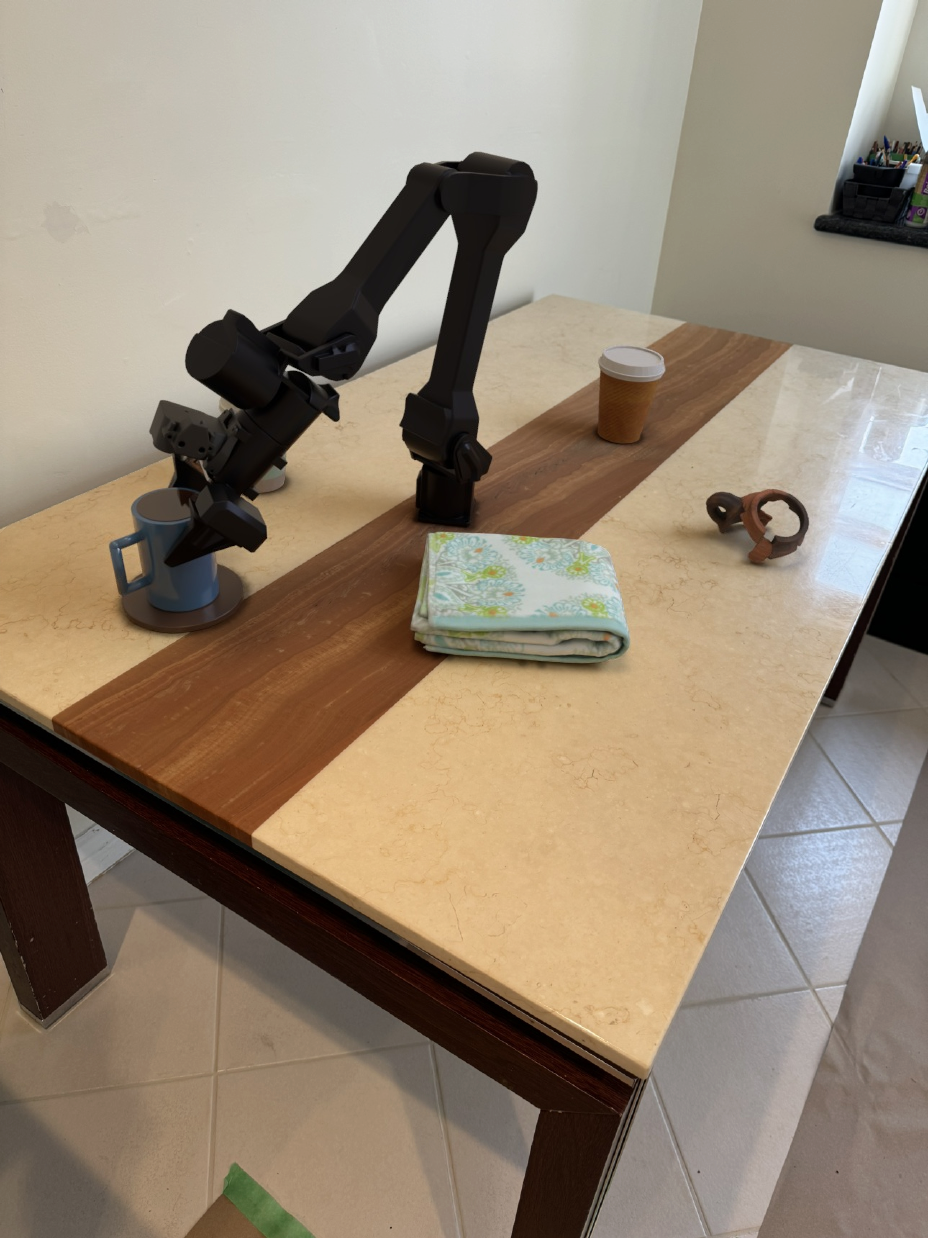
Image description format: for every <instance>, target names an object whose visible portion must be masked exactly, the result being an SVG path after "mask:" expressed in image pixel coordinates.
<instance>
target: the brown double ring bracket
mask: <svg viewBox="0 0 928 1238" xmlns="http://www.w3.org/2000/svg"><path fill="white" fill-rule="evenodd" d="M778 501H783V502H784V503H785V504H787V506H788V510H789V511H791V512H792V513H794V514H795V515H796V516H797V517H798V521H799V528H798V530H797V532H796V533H795V534H792V535H790V536H782V535H777V534H775V535H774V536H773V537H772V540H770V539H768V538H766V537H765V535H766V533H767V532H768V531H767V528H766V526H767V525H768V524H769V522H771V521H772V520H773V516H772V515H770V514H769V513H766V512H765V511H764V510H763V509H762V508H763V507H764V506H765V505H767V504H768V503H769V502H770V503H774V502H778ZM705 508H706V513H707V515H708V517H709V518H710V519H711V521H713V523H715V524H716V526H717V527H718V531H719V533H720V534H722V535H724V534H725V533H726V531H727V530H728V529H729V528H730V527H731V526H733V525H735V524H739V523H742V524H743V527H744V528H745V529H746V531H747V534H748V535H749V537H750V538H751V540H752V541H753V542H754V543H755V544H756V545H755V546H754V548H753V549H752V550H751V551H750V552H748V553H747V559H748V560H750V561H751V562H753V563H755V564H760V563H763V562H765V561H766V560H767V559H768V560H776V559H779V558H782V557H786V556H788V555H791V554H792V553H795V552H796V551H797V550H798V547H800V546H802V544H803V542H804V540H805V537H806V534H807V533H808V531H809V526H810V517H809V514H808V511H807V509H806V507H805V506H804V504H803V503H802V502H801V500H799V498H797V497H796V496H794V495H793V494H791V493H789V492H787V491H784V490H781V489H776V488H767V489H764V490H763V489H762V490H760V491H755V492H752V493H751V492H750V493H748V494H746V495H744V496H738V495H736V494H734V493H732V492H729V491H728V492H727V491H716V492H714V493H713V494H711V495H709V497H707V499H706V501H705ZM721 508H722V509H723V510H725V511H722V510H721Z"/></svg>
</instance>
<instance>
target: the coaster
mask: <svg viewBox="0 0 928 1238" xmlns="http://www.w3.org/2000/svg"><path fill="white" fill-rule="evenodd" d="M217 569H218V577H219V586H220V590H219V594H218V595H217V597H216V598H215V599H214V600H213V601H212V602H210V603H209V604H207V605H205V606H203V607H201V608H198V609H195V610H190V611H183V612H173V611H166V610H162V609H159V608H157V607H155V606H153V605H152V604H151V603H150V602H149V601H148V599H147V596H146V591H145V587H144V588H142V589H139V590H137V591H135V592H132V593H130V594H128V595H125V596H122V595H121V607H122V609H123V613H124V614H125V616H126V617H127V618H128V619H129V620H130V621H131V622H132V623H134V624H136V625H138V626H139V627H141V628H143V629H146V630H150V631H154V632H160V633H169V634H175V633H177V634H179V633H189V632H195V631H200V630H204V629H207V628H210V627H213V626H215V625H218V624H220V623H222V622H224V621H225V620H227V619H229V618H230V617H231V616H233V615H234V614H235V613H236V612H237V611H238V610H239V608H240V607H241V606H242V604H243V601H244V599H245V598H244V597H245V585H244V583H243V580H242V578H241V577H240V576H239V575H238V573H236V572H235V571H233V570H232V569H230V568H228V567H227V566H224V565H221V564H219V563H217ZM141 577H143V574H142V572H140V573H139V574H138V575H136V576H134V577H133V578H132V579H131V580H130V581H129V582H131V581H134V580H136V579H138V578H141Z"/></svg>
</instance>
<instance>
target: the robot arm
mask: <svg viewBox="0 0 928 1238" xmlns="http://www.w3.org/2000/svg"><path fill="white" fill-rule="evenodd" d="M538 182H539V181H538V180H537V179H536V177H535V174H534V170H533V169H532V167H531V166H530V164H528V163H527V162H525V161H523V160H519V159H513V158H509V157H505V156H500V155H497V154H494V153H493V154H492V153H488V152H483V151H473V152H471V153H469V154H468V155H467V156H466V157H465V158H464V159H462V160H441V161H437V162H435V163H432V162H426V161H424V162H421V163H418V164H415V165H414V166H412V168H410V170H409V171H408V173H407V176H406V178H405V184H404V186H403V187H402V189H400V191H399V192H398V194H397V195H396V197H395V198H394V200H393V201H392V202H391V204H390V205H389V206H388V208H387V209H386V210H385V212H384V213H383V215H382V216H381V217H380V219H379V220H378V222H377V223H376V224H375V226H374V227H373V229H372V230H371V231H370V232H369V234H368V235H367V237H366V238H365V239H364V241H363V242H362V243H361V245H360V246H359V248H358V249H357V250H356V251H355V252H354V254H353V255H352V257H351V259H349V261H348V263H347V264H346V265H345V266H344V268H343V269H342V271H341V272H340V273H338V275H336V277H335V278H334V279H332V280H331V281H329V282H327V283H324V284H323V285H321V286H319V287H317V288H315V289H313V290H311V291H310V292H309V293H308V294H307V295H306V296H305V297H304V298H303V299H302V300H300V302H299V303H298V304H296V306H295V307H294V308H293V309H292V310H291V311H290V312H289V313H288V314H287V316H286V318H285V319H282V320H280V321H278V322H276V323H273V324H272V325H269V326H267V327H265V328H262V329H259V328H257V327H256V325H255V323H254V322H253V321H252V320H250V319H249V318H248V317H247V316H246V315H245V314H243V313H241V312H239V311H237V310H235V309H232V308H229V309H227V311H226V312H225V314H224V315H223V317H222V318H221V319H217V320H214V321H212V322H210V323H208V324H207V325H205V326H204V327H203V328H202V329H201V330H200V331H199V332H196V333H195V334H194V335H193V336H192V338H191V340H190V342H189V343H188V346H187V348H186V352H185V356H184V365H185V367H184V368H185V370H186V373H187V374H188V375H189V377H191V378H192V379H193V380H195V381H197V382H198V383H200V384H201V385H203V386H204V387H205V388H207V389H209V390H210V391H211V392H213V393H215V394H216V395H218V396H219V397H220V398H221V397H222V398H223V399H225V400H226V401H228V402H229V403H231V404H232V405H234V406H235V407H237V408H239V409H240V410H239V411H238V412H237V411H235V410H234V409H233V408H230V409H229V410H228V409H226V410H224V411H223V413H220V414H219V416H217V417H215V416H213V415H210V414H208V413H206V412H204V411H201V410H198V409H195V408H192V407H189V406H186V405H182V404H180V403H176V402H173V401H170V400H166V399H160V400H159V402H158V403H157V404H158V405H157V407H156V410H155V413H154V416H153V419H152V422H151V424H150V427H149V431H148V433H149V435H151V437H152V445H153V447H154V448H155V449H156V450H157V451H160V452H162V453H165V454H168V455H171V458H172V463H173V469H174V471H173V474H172V477H171V479H170V480H169V481H170V482H169V484H168V486H167V488H188V489H193V490H196V491H199V492H200V494H199V496H198V498H197V501H196V502H195V501H194V500H192V499H191V498H189V506H190V514H191V519H190V521H189V522H188V523H187V525H186V526H185V528H184V529H183V531H182V532H181V534H180V535H179V536H178V538H177V539H176V541H175V542H174V544H173V545H172V547H171V548H170V550H169V551H168V553H167V554H166V556H165V558H164V559H163V562H164V564H165V565H167V566H169V567H171V568H174V567H176V566H179V565H182V564H184V563H187V562H189V561H192V560H195V559H197V558H200V557H202V556H205V555H208V554H211V553H213V552H220V551H223V550H226V549H229V548H232V547H238V548H241V549H242V548H243V549H245V550H246V551H248V552H249V553H256V552H257V550H259V548H260V547H261V546H262V545H263V544H264V543H265V542H266V541H267V540H268V529H267V528H268V527H267V523H266V522H265V519H264V518H263V516H262V513H261V511H260V509H259V508H258V507H257V506H255V505H254V504H252V503H251V502H254V501H255V500H256V499H257V498H258V496H260V493H259V492H258V490H257V488H256V485H257V484H258V483H259V482H260V480H261V479H262V478H263V477H264V476H265V475H266V474H267V473H268V472H269V471H270V469H271V468H272V467H273V466H275V467H277V468H278V469H279V470H282V469H283V468H284V467H285V468H286V467H287V465H288V461H287V458H286V459H285V457H284V454H285V453H286V454H287V452H288V451H289V450H290V449H291V447H292V446H294V444H296V442H297V441H298V440H299V439H300V438H301V437H302V436H303V435H304V433H306V432H307V430H308V429H309V428H310V427H311V426H312V425H313V424H314V422H315V421H316V420H317V419H318V418H319V417H320V416H321V414H323V415H325V416H326V417H327V418H329V419H330V420H331V421H332V422H334V423H338V422H339V421H340V419H341V414H340V404H339V401H340V397H341V395H340V393H339V392H338V391H337V390H336V389H335V387H333V385H332V384H331V383H329V382H328V383H323V384H322V383H316V382H315V381H314V380H312V378H310V377H322V378H325V379H326V380H329V381H331V382H340V381H349V380H350V379H352V378H354V376H355V375H356V374H357V373H358V372H359V371H360V369H361V368H362V367H363V365H364V363H365V361H366V360H367V358H368V356H369V354H370V352H371V350H372V348H373V346H374V344H375V342H376V341H377V338H378V331H379V330H378V329H379V321H380V315H381V313H382V311H384V310H383V309H384V307H385V306H386V304H387V303H388V301H389V300H390V299H391V297H392V296H393V295H394V294H395V292H396V291H397V289H398V288H399V286H400V285H401V284H402V282H403V281H404V279H405V278H406V277H407V276H408V274H409V273H410V271H411V270H412V268H413V267H414V266H415V264H416V263H417V261H418V260H419V259H420V257H421V256H422V255H423V253H424V252H425V250H426V249H427V248H428V246H429V245H430V244H431V242H432V241H433V240H434V238H435V237H436V235H437V234H438V232H439V231H440V230H441V228H442V227H443V226H444V224H445V223H446V221H447V220H448V219H449V217H450V216H451V217H450V218H451V221H452V225H453V229H454V233H455V238H456V242H457V247H456V252H455V257H454V261H453V262H454V263H453V267H452V270H451V271H452V272H451V278H450V281H449V286H448V291H447V295H446V299H445V304H444V308H443V314H442V319H441V322H440V328H439V333H438V337H437V342H436V346H435V351H434V356H433V360H432V365H431V370H430V375H429V378H428V381H427V382H425V384H423V386H422V387H421V388H420V389H419V390H418V392H417V393H415V392H408V394H407V395H406V397H405V399H404V411H403V415H402V418H401V420H400V422H399V425H398V426H399V427H400V428H401V429H402V430H401V440H402V442H403V443H404V444H405V447H406V448H407V449H408V452H409V455H410V458H411V459H412V460H414V461H417V462H419V463H421V464H422V466H421V469H420V470H419V471H418V474H417V476H416V480H415V483H416V484H415V503H414V504H415V505H414V507H415V509H417V510H418V511H417V514H416V520H417V521H419V522H427V523H436V524H444V525H452V526H461V527H470V526H471V522H472V518H473V514H474V509H475V505H476V498H474V497H475V486H476V483H478V482H480V481H481V479H482V476H485V475H487V474H488V473H489V470H490V467H491V464H492V460H493V455H492V454H491V453H490V452H489V451H488V450H487V449H486V447H484V445H482V443H480V441H479V440H478V435H479V434H478V433H479V425H480V415H479V412H478V407H477V403H476V399H475V395H474V386H475V381H476V376H477V372H478V368H479V365H480V359H481V356H482V352H483V347H484V343H485V339H486V335H487V334H486V333H487V330H488V326H489V322H490V318H491V313H492V309H493V306H494V301H495V296H496V293H497V288H498V283H499V279H500V275H501V271H502V267H503V262H504V259H505V257H506V254H507V253H508V252H509V251H510V250H511V249H512V248H513V247H514V246H515V244H516V243H517V242H518V241H519V240H520V239H521V238H522V236H523V235H524V234H525V232H526V230H527V227H528V225H529V222H530V218H531V216H532V213H533V210H534V207H535V204H536V202H537V197H538V193H539V192H538V191H539V183H538ZM288 366H289V367H291V368H293V369H295V370H293V369H290V370H287V368H288ZM307 375H308V376H307ZM309 376H310V377H309ZM242 495H243V496H242ZM244 497H245V498H247V499H248V500H250V501H251V502H250V501H248V500H247V499H245V498H244Z"/></svg>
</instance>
